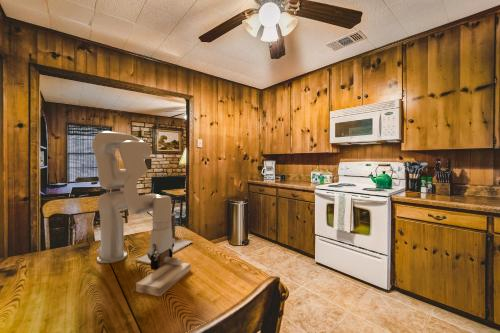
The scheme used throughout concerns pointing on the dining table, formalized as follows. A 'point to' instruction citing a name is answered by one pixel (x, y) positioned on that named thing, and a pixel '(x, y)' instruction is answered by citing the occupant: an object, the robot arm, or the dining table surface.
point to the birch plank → (162, 279)
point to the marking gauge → (167, 259)
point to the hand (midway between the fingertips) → (162, 264)
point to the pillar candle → (173, 224)
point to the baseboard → (177, 246)
